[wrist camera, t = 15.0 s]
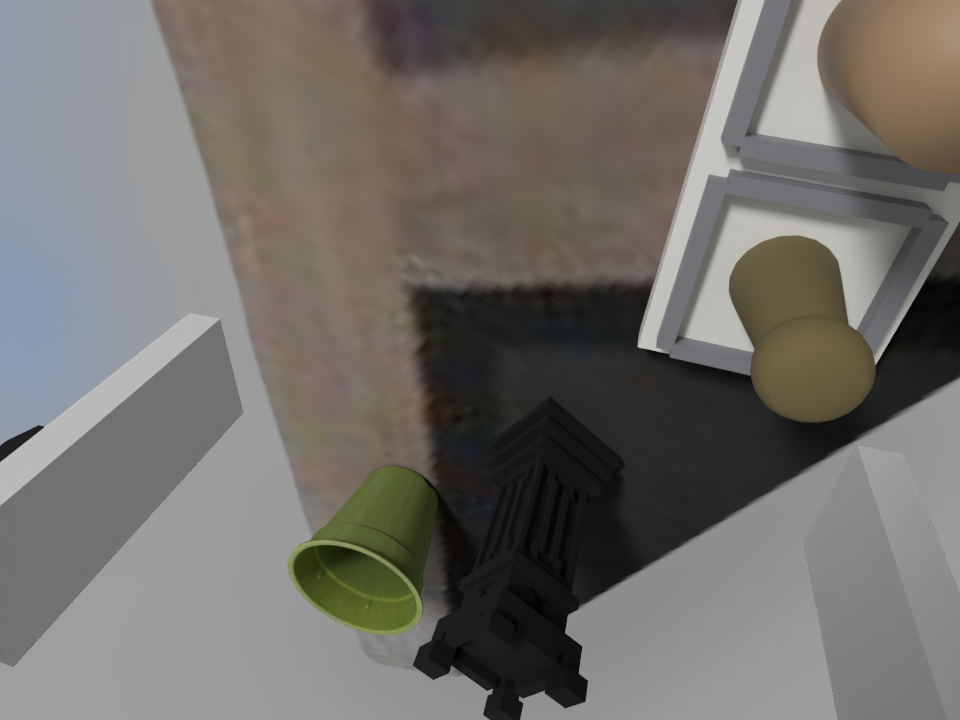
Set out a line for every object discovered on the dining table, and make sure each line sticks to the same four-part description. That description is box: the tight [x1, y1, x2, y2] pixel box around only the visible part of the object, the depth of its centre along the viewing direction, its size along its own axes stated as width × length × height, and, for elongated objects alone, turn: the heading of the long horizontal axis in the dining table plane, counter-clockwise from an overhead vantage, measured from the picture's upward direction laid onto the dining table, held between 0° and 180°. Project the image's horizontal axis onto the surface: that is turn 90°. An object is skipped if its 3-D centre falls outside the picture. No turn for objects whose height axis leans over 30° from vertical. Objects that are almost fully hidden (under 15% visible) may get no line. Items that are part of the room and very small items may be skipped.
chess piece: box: [413, 397, 622, 720], centre depth 43 cm, size 8×8×20 cm
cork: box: [729, 235, 876, 423], centre depth 32 cm, size 6×6×11 cm
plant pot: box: [288, 466, 438, 635], centre depth 54 cm, size 12×12×11 cm
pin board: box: [638, 0, 960, 375], centre depth 29 cm, size 26×14×13 cm, turn 174°
